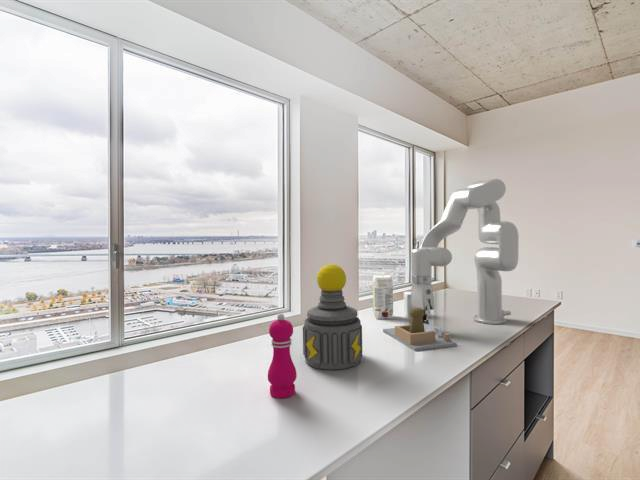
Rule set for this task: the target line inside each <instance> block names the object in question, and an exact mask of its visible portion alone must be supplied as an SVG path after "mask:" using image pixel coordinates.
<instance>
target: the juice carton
mask: <svg viewBox="0 0 640 480" xmlns="http://www.w3.org/2000/svg"><path fill="white" fill-rule="evenodd" d="M372 305H373V307H372V311H373V315H374V317H375V318H376V320H392V319H393V315H394V283H393V278H392V276H391V275H389V274H387V275H373V279H372Z"/></svg>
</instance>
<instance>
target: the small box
mask: <svg viewBox="0 0 640 480" xmlns="http://www.w3.org/2000/svg"><path fill="white" fill-rule="evenodd" d="M411 308H413V306H412V304H411V291H403V313H404V315H405V316H406V317H407V318H411V316H410V314H409V311H410V309H411Z"/></svg>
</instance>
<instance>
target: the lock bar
mask: <svg viewBox="0 0 640 480" xmlns="http://www.w3.org/2000/svg"><path fill="white" fill-rule="evenodd" d="M423 323H424V330H425V331H426V332H429V331H434V332H435V336H436V337H441V336H442V328H441V327H439V326H437V325H434V324H432V323H430V320H429V319H427V320H425V322H423Z"/></svg>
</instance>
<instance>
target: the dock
mask: <svg viewBox="0 0 640 480" xmlns="http://www.w3.org/2000/svg"><path fill="white" fill-rule="evenodd" d="M382 329H383V330H382V332H383V333H384V334H386V335H388V336H390V337H391V338H393V339H394V340H396V341H398V342H399V343H401V345H402V344H403V345H404V346H405V347H408V348H409V349H411V350H413V351H414V352H418V351H424V350H425V351H426V349H427V350H434V348H435V349H442V348H443V347H444V348H450V347H457V342H455V341H453V340H452V339H451V338H452V337H451V335H452V334H451V333H448V332H447V333H443V336H442V335H441V337H436V336H435V332H434V331H429V332H426V331H425V332H420V333H410V332H409V330H410V324H405V325H404V324H403V325H395V326H394V327H391V328H382ZM444 348H443V349H444Z"/></svg>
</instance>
